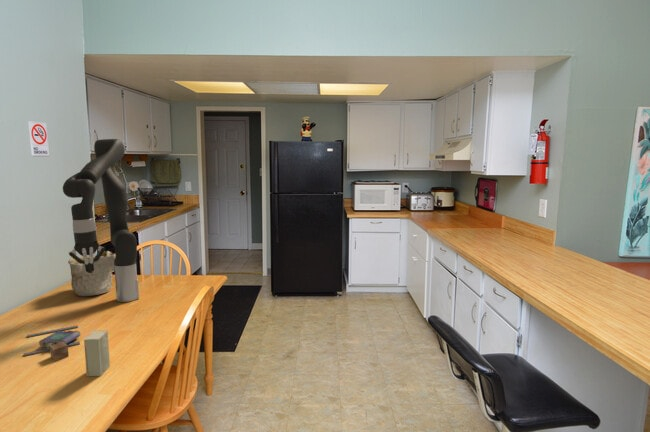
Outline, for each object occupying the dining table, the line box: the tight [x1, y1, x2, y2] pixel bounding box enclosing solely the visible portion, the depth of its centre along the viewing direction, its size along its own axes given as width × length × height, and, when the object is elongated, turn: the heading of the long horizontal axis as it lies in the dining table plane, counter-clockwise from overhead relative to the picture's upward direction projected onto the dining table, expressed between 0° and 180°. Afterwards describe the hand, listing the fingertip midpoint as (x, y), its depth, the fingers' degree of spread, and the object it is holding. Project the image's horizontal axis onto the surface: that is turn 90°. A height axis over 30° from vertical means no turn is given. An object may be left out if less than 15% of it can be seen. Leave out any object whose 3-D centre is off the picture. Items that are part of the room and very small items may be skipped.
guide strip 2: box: [23, 341, 81, 357], centre depth 134 cm, size 16×2×1 cm, turn 125°
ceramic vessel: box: [67, 250, 116, 297], centre depth 193 cm, size 23×24×25 cm
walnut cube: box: [49, 342, 69, 362], centre depth 129 cm, size 4×4×4 cm
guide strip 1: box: [26, 325, 79, 338], centre depth 148 cm, size 16×2×1 cm, turn 125°
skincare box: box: [83, 330, 111, 377], centre depth 119 cm, size 6×4×12 cm
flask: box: [38, 330, 81, 349], centre depth 137 cm, size 9×3×11 cm
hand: (90, 272), depth 154 cm, fingers closed
